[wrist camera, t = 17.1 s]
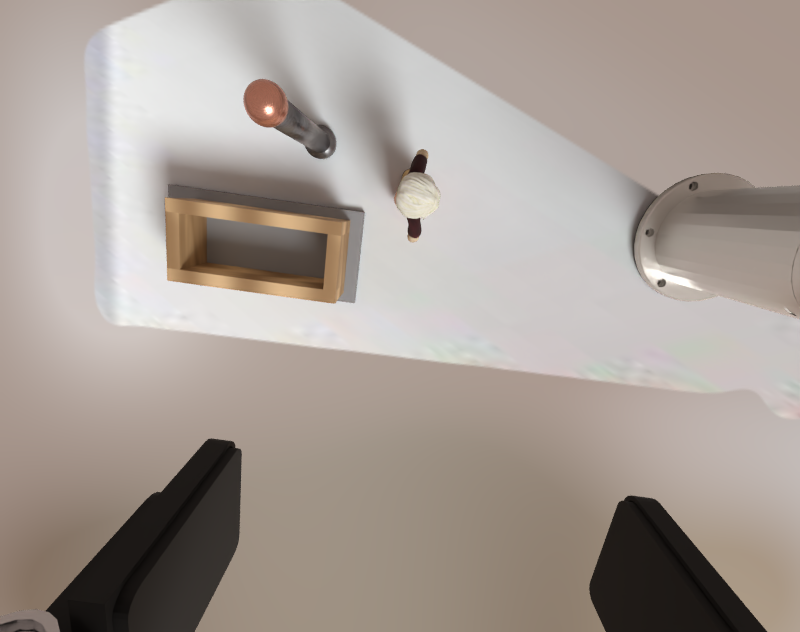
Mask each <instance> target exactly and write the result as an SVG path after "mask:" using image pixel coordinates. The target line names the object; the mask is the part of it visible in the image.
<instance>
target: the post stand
mask: <svg viewBox="0 0 800 632" xmlns="http://www.w3.org/2000/svg"><path fill="white" fill-rule="evenodd" d="M244 106H245V110H246V112H247V114H248V115H249V117H250V118H251V119H252V120H253V121H254V122H255V123H257V124H258V125H260V126H263V127H274V128H275V129H277V130H279V131H280V132H282V133H284V134H286V135H287V136H289V137H291V138H293V139H294V140H296V141H298V142H300V143H301V144H303V145H305V147H306V149H307V151H308V152H309V153H310V154H311V155H312V156H313V157H315V158H318V159H326V158H328V157H330V156H331V155H332V154H333V153H334V151H335V149H336V138H335V136H334V134H333V132H332V131H331V130H330V129H329V128H327V127H326V126H323V125H316V124H315V123H314V122H312V121H311V120H310V119H309V118H308V117H307V116H305V115H304V114H303V113H302V112H301V111H300V110H298V109H297V108H296V107H295V106H294V105H293V104H292V103H290V102H289V101H288V100H287V97H286V95H285V93H284V91H283V90H282V89H281V88H280V87H279V86H278V85H277V84H276V83H274V82H272V81H270V80H266V79H259V80H255V81H253V82H252V83H250V84H249V85H248V87H247V88H246V90H245V93H244Z"/></svg>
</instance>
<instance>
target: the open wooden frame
mask: <svg viewBox="0 0 800 632" xmlns="http://www.w3.org/2000/svg"><path fill="white" fill-rule="evenodd" d="M165 216H166V249H167V280H168V281H175V282H182V283H189V284H196V285H204V286H211V287H218V288H225V289H233V290H240V291H247V292H254V293H261V294H269V295H276V296H283V297H290V298H298V299H305V300H312V301H319V302H326V303H334V304H335V303H336V301H337V300H338V299H339V298H340V296H341V295H342V294H343V292H344V282H345V272H346V262H347V252H348V241H349V231H350V220H343V219H336V218H329V217H322V216H315V215H308V214H301V213H293V212H286V211H279V210H272V209H265V208H258V207H251V206H244V205H237V204H229V203H222V202H215V201H208V200H201V199H191V198H165ZM207 217H210V218H217V219H224V220H231V221H238V222H245V223H252V224H260V225H267V226H274V227H281V228H288V229H295V230H302V231H309V232H317V233H324V234H328V238H327V250H326V262H325V274H324V279H322V278H315V277H308V276H301V275H294V274H286V273H279V272H272V271H265V270H258V269H251V268H243V267H236V266H229V265H222V264H215V263H207Z"/></svg>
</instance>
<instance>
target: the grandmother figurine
mask: <svg viewBox="0 0 800 632" xmlns="http://www.w3.org/2000/svg"><path fill="white" fill-rule="evenodd" d="M427 159H428V153H427V151H426V150H424V149H421V150H419V151H418V152H417V154H416V156H415V157H414V159H413V161H412V165H411V168H410V169H408V170H406V171H405V172H404V173H403V175H402V179H401V183H400V185H399V187H398V190H397V192H396V194H395V197H394V201H395V204H396V206H397V208H398V209H399V210H400V212H401V213H402V214H403V215H404V216H405V217H407V220H408V224H409V226H408V240H409V241H410V242H416V241H417V240H418V238H419V236H420V234H421V224H420V218H423V220H424V219H425V218H426V217H427V216H428V215H430V214H432V213H433V212H434V211H435V210H436V209H437V208H438V206H439V201H440V191H439V190H438V188H437V187H436V186H435V183H434V180H433V179H432V177H430V176H429V175H427V174H424V172H425V169H426V164H427Z"/></svg>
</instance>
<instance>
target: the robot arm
mask: <svg viewBox="0 0 800 632" xmlns="http://www.w3.org/2000/svg"><path fill="white" fill-rule="evenodd" d="M646 230H647V233H646V234H645V232H646ZM634 254H635V261H636V265H637V268H638V270H639V272H640V274H641V276H642V278H643V279H644V280H645V282H646V283H647V284H648V285H649V286H650V287H651V288H652V289H654V290H655V291H656V292H658V293H660V294H662V295H664V296H666V297H669V298H673V299H676V300H681V301H702V300H707V299H711V298H714V297H717V296H721V297H724V298H728V299H731V300H735V301H738V302H742V303H745V304H749V305H752V306H756V307H759V308H762V309H766V310H769V311H773V312H776V313H780V314H783V315H787V316H790V317H793V318H797V319H800V185H799V186H779V187H761V188H755V187H754V186H753V185H752V184H751V183H749V182H748V181H746V180H744V179H742V178H740V177H738V176H734V175H730V174H721V173H711V174H701V175H697V176H694V177H690V178H687V179H685V180H682V181H680V182H678V183H676V184H674V185H673V186H671V187H670V188H668V189H667V190H665V191H664V192H663V193H662V194H661V195H660V196H659V197H657V198H656V199H655V200H654V202H653V203H652V204H651V205H650V207H649V208H648V209H647V211H646V212H645V214H644V216H643V218H642V220H641V221H640V224H639V227H638V230H637V233H636V237H635V244H634ZM657 282H658V283H657ZM241 456H242V454H241V449H238V448H235V444H234V442H232V441H225V440H218V439H208V440H207V441H206V442H205V443H204V444H203V445H202V446H201V447H200V449H199V450H198V451H197V452H196V453H195V454H194V455H193V457H192V458H191V459H190V460H189V461H188V462H187V463H186V465H185V466H184V467H183V468H182V469H181V470H180V471H179V473H178V474H177V475H176V476H175V477H174V478H173V479H172V481H171V482H170V483H169V484H168V485H167V486H166V487H165V488H164V490H163V491H162V492H156V493H154V494H152V495H151V496H150V497H149V498H147V499H146V501H145V502H144V503H143V504H142V505H141V506H140V507H139V508H138V509H137V510H136V511H135V513H134V514H133V515H132V516H131V517H130V518H129V519H128V520H127V521H126V523H125V524H124V525H123V526H122V527H121V528H120V529H119V531H117V533H116V534H115V535H114V536H113V537H112V538H111V539H110V540H109V541H108V542H107V544H106V545H105V546H104V547H103V548H102V549H101V550H100V551H99V552H98V553H97V555H96V556H95V557H94V558H93V559H92V560H91V561H90V562H89V563H88V565H87V566H86V567H85V568H84V569H83V570H82V571H81V572H80V574H79V575H78V576H77V577H76V578H75V579H74V580H73V581H72V582H71V583H70V584H69V586H68V587H67V588H66V589H65V590H64V591H63V592H62V593H61V594H60V595H59V597H58V598H57V599H56V600H55V601H54V602H53V603H52V604H51V606H50V607H49V608H48V609H47V610H46V611H42V610H38V609H33V610H21V611H17V612H13V613H10V614H7V615H3V616H0V632H195V630H196V628H197V626H198V624H199V622H200V620H201V618H202V616H203V614H204V612H205V610H206V608H207V606H208V604H209V602H210V600H211V598H212V596H213V595H214V592H215V591H216V588H217V587H218V585H219V583H220V581H221V579H222V577H223V575H224V573H225V571H226V569H227V567H228V565H229V563H230V561H231V559H232V557H233V555H234V553H235V551H236V548H237V545H238V541H239V526H240V525H239V524H240V492H241V491H240V490H241V489H240V488H241ZM589 589H590V596H591V600H592V602H593V604H594V607H595V609H596V611H597V613H598V616H599V618H600V620H601V622H602V624H603V626H604V629H605V631H606V632H767V631H766V630H765V629H764V628H763V626H762V625H761V624H760V623H759V622H758V620H757V619H756V618H755V617H754V615H753V614H752V613H751V612H750V611H749V609H748V608H747V607H746V606H745V605H744V603H743V602H742V601H741V600H740V599H739V597H738V596H737V595H736V594H735V593H734V591H733V590H732V589H731V588H730V587H729V586H728V584H727V583H726V582H725V581H724V580H723V579H722V577H721V576H720V575H719V574H718V572H717V571H716V570H715V569H714V568H713V566H712V565H711V564H710V563H709V562H708V561H707V559H706V558H705V557H704V556H703V554H702V553H701V552H700V551H699V550H698V549H697V547H696V546H695V545H694V544H693V543H692V541H691V540H690V539H689V538H688V537H687V535H686V534H685V533H684V532H683V531H682V529H681V528H680V527H679V526H678V525H677V523H676V522H675V521H674V520H673V519H672V517H671V516H670V515H669V514H668V513H667V511H666V510H665V509H664V508H663V507H662V506H661V504H660V503H659V502H658V501H656V500H655V499H652V498H645V497H637V496H627V497H626V498H625V500H624V501H621V502H619V503H618V505H617V508H616V511H615V514H614V517H613V519H612V522H611V525H610V528H609V531H608V533H607V536H606V539H605V542H604V545H603V548H602V550H601V553H600V556H599V559H598V562H597V565H596V567H595V570H594V573H593V576H592V579H591V581H590V588H589Z"/></svg>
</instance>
